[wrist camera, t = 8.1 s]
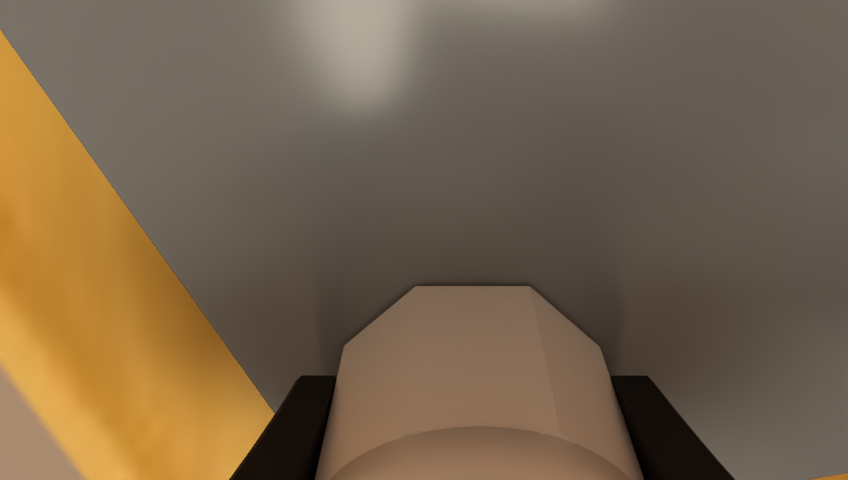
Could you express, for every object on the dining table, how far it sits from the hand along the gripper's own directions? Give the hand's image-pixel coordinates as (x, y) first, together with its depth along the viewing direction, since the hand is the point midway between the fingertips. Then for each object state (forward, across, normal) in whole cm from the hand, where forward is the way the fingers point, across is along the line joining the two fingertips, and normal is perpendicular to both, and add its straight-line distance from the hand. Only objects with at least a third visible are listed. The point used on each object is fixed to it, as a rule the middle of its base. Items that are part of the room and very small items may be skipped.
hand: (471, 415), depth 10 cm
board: (+2, -1, -3) cm, 4 cm away
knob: (+1, 0, 0) cm, 1 cm away
